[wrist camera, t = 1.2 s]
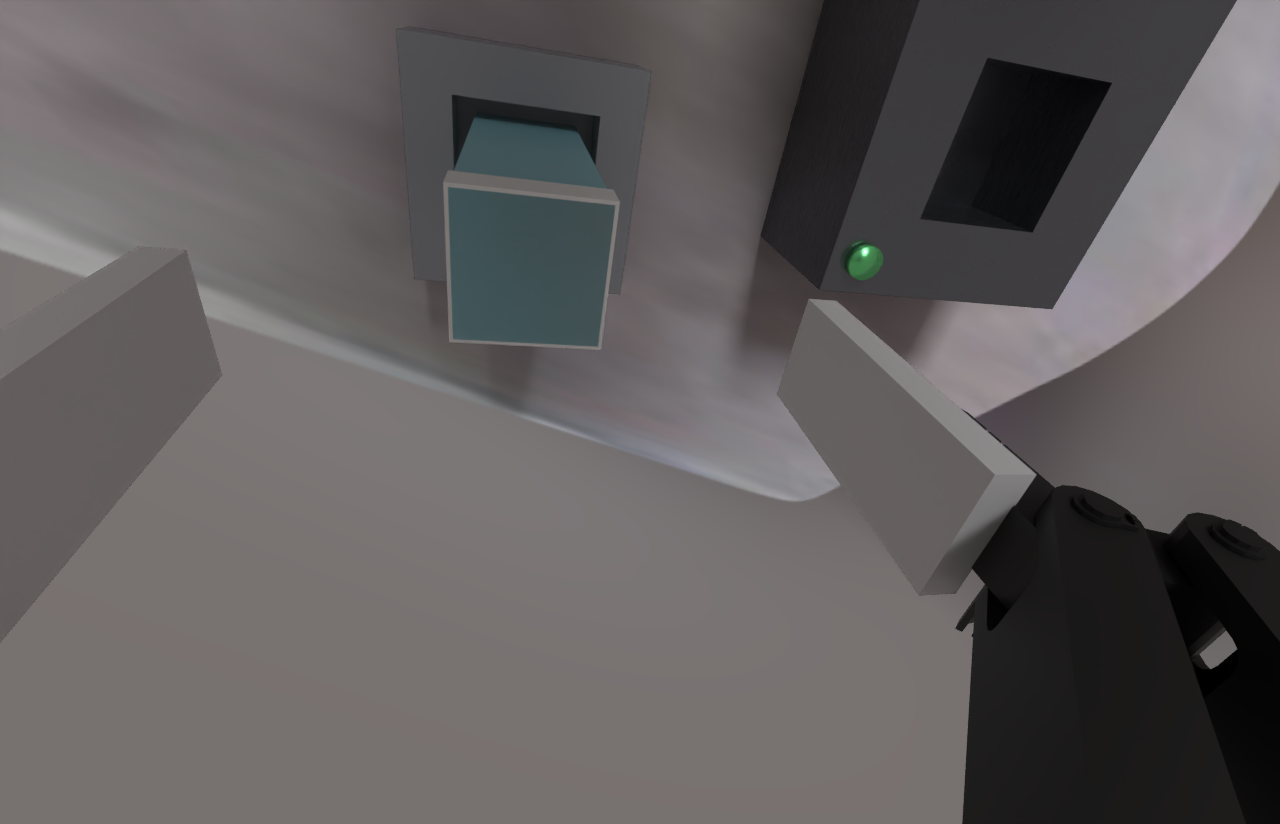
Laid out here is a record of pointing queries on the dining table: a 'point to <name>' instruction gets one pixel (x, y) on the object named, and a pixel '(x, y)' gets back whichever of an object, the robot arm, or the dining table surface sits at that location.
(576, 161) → the plug
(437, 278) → the square frame socket
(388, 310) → the dining table surface
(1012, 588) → the robot arm
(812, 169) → the port
